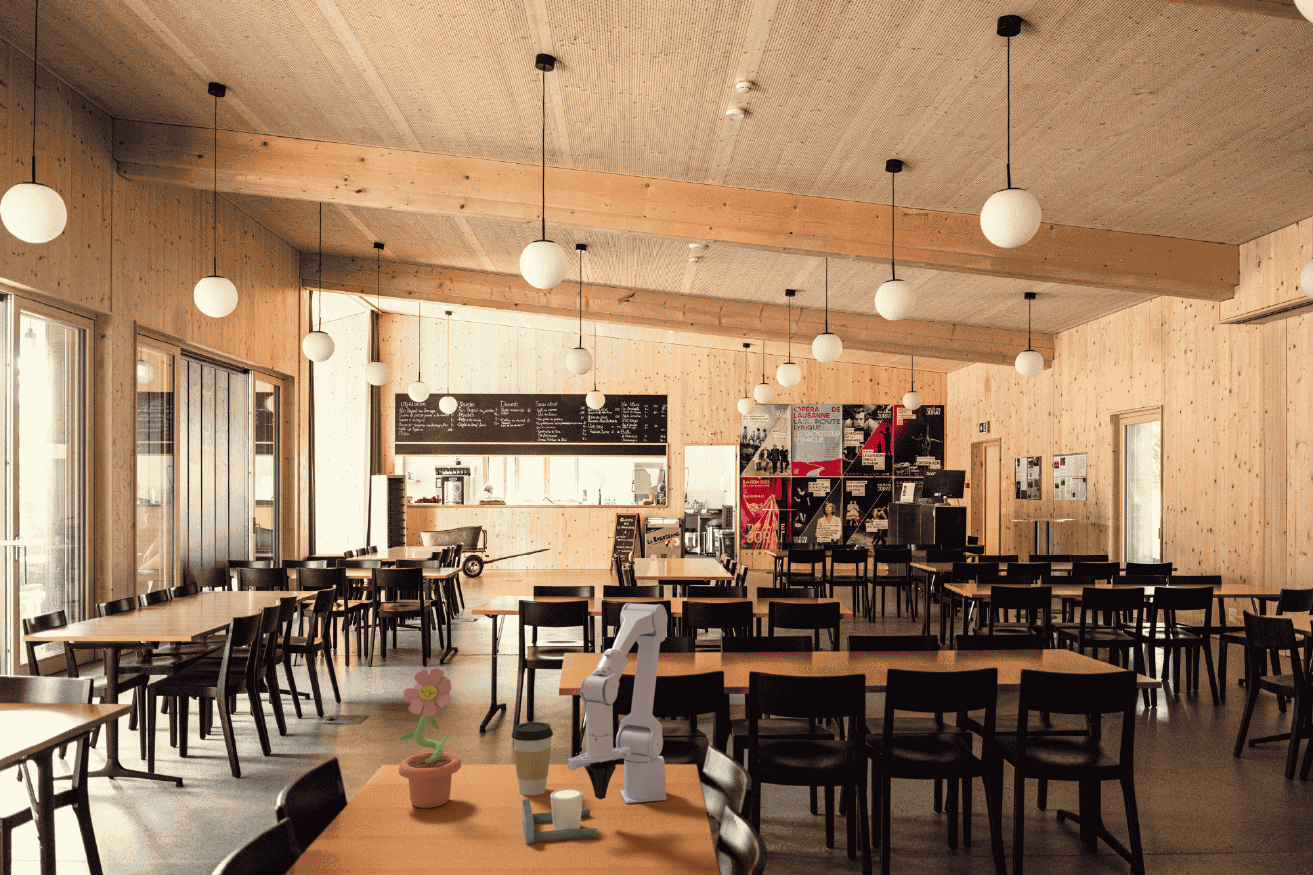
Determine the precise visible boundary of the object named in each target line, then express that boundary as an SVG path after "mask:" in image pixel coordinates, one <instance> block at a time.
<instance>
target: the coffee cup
mask: <svg viewBox="0 0 1313 875" xmlns="http://www.w3.org/2000/svg"><path fill="white" fill-rule="evenodd" d="M553 735H554V732H553V729H552V727H551V725H550V724H549V723H546V722H539V721H530V722H523V723H520V724H517V725H515V726H514V728H513V731H512V732H511V738H512V739H513V745H514V746H513V751H514V760H515V761H514V762H515V772H516V777H517V781H518V790H519V791H518V792H519V794H520V795H523V796H527V797H529V796H530V797H532V796H539V795H542V794H544V793H546V791H547V782H548V780H547V779H548V776H549V769H550V768H549V767H550V758H551V757H550V756H551V750H552V749H551V748H552V745H551V743H552V736H553Z"/></svg>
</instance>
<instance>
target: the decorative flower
mask: <svg viewBox="0 0 1313 875" xmlns="http://www.w3.org/2000/svg"><path fill="white" fill-rule="evenodd" d="M413 680H414V681H415V684H414V686H413V687H411V688H409V687H407V688H405V689H404V691H403V700H404V701H405V702H406V703H408V702H410V705H409V707H408V711H409V712H410V713H412V714H413V715H420V714H421V717H420V719H419V721H418V724H417V727H416V729H415V731H411V730H410V731H408V732H406V733H404V734H403V735H402V736H401V737H400V740H402V741H406V740H411V739H412V738H414V739H415V742H416V743H417V744H418V745H419V746H421V747H423V748H430V749H434V751H426V752H420V753H416V754H413V755H410V756H408V757H406V758H405V759H403V760H402V761H401V762H400V763H399V766H398V775H400V777H403V778H406V779H408V786H409V797H410V798H409V799H410V803H411V805H413V806H415V807H416V808H419V807H420V808H419V809H433V808H437V807H441V806H443V805H445V804H446V803H447V802H448V801H449V799H450V797H451V789H452V775H453V774H455V773H457V772H458V771H459V770H460V769H461V768H462V760H461V759H460V757H459V756H458V755H457V754H455V753H453V752H448V751H444V750H443V749H444V748H443V744H444V743H446V742H448V741H449V740H450V738H451V737H452V736H451V735H448V736H446V737H444V738H443V739H442V740H440V741H438V740H435V739H428V738H424V736H423V735H424V731H425V729H426V726H427V724H428V721H429V723H430V725H431V726H432V727H433V728H434V729H435V730H438V731H439V730H440V727H439V724H438V722H437V720H436V719H435V717H433V716H434V715H436V714H437V713H438V712H440V711H441V710H442V709H443V708H445V707H446V706H447V705H448V704H449V703H450V701H451V698H452V696H451V695H450V692H451V691H452V683H451V681H450V678H448V677H447V676H446V675H445V671H444V670H443V669H439V668H433V669H430V671H429V673H428V670H427V669H423V670H420V671H418V672H417V673H416V674H415V675H414V677H413ZM432 807H433V808H432Z"/></svg>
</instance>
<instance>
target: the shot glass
mask: <svg viewBox="0 0 1313 875" xmlns="http://www.w3.org/2000/svg"><path fill="white" fill-rule="evenodd" d="M549 796H550V804H551V805H550V806H551V812H552V818H553V822H552V826H553V831H554V830H565V829H576V828H581V820H582V819H581V811H582V808H583V797H584V792H583V791H582V790H581V789H580V790H579V789H575V788H564V789H563V788H562V789H558V790H554V791H552V792H551V793H550V795H549Z"/></svg>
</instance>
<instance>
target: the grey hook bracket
mask: <svg viewBox="0 0 1313 875" xmlns="http://www.w3.org/2000/svg"><path fill="white" fill-rule="evenodd" d="M521 802H522V803H521V805H522V806H521V807H522V810H521V811H522V812H521V813H522V815H521V816H522V817H521V818H522V819H521V820H522V826H523V834H524V838H525V839H524V840H525V845H535V844H536V843H545V842H547V843H548V842H555V841H557V842H558V841H568V840H578V839H579V840H580V839H591V840H593V839H594V840H596V839H597V837H598V828H597V827H596V828H591V827H590V828H589V827H583V828H582V827H580V828H576V829H565V830H554V829H553V830H547V831H535V830H534V829H535V828H534V827H535V826H534V824H541V823H553V818H552V811H548V812H538V813H533V811H532V807H531V802H530V798H525V799H522V800H521ZM589 817H591V809H590V808H589V807H582V811H581V820H582V819H585V818H589Z"/></svg>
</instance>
